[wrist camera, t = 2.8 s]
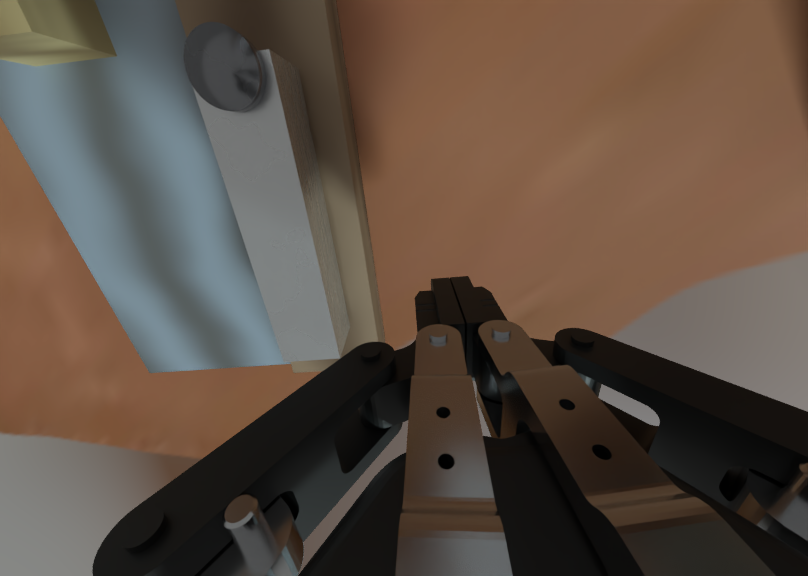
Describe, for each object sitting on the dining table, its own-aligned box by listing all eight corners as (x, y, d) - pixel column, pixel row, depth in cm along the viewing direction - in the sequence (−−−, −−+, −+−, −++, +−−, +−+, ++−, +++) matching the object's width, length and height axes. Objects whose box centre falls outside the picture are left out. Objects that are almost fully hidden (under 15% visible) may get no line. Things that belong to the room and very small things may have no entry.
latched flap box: (315, -139, 13) (255, -319, 8) (385, 340, 23) (378, 395, 18) (-62, -81, 14) (-333, -208, 9) (169, 355, 24) (106, 411, 19)
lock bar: (224, 56, 13) (162, 27, 10) (294, 48, 13) (254, 16, 9) (301, 330, 19) (279, 369, 15) (350, 326, 19) (337, 366, 15)
